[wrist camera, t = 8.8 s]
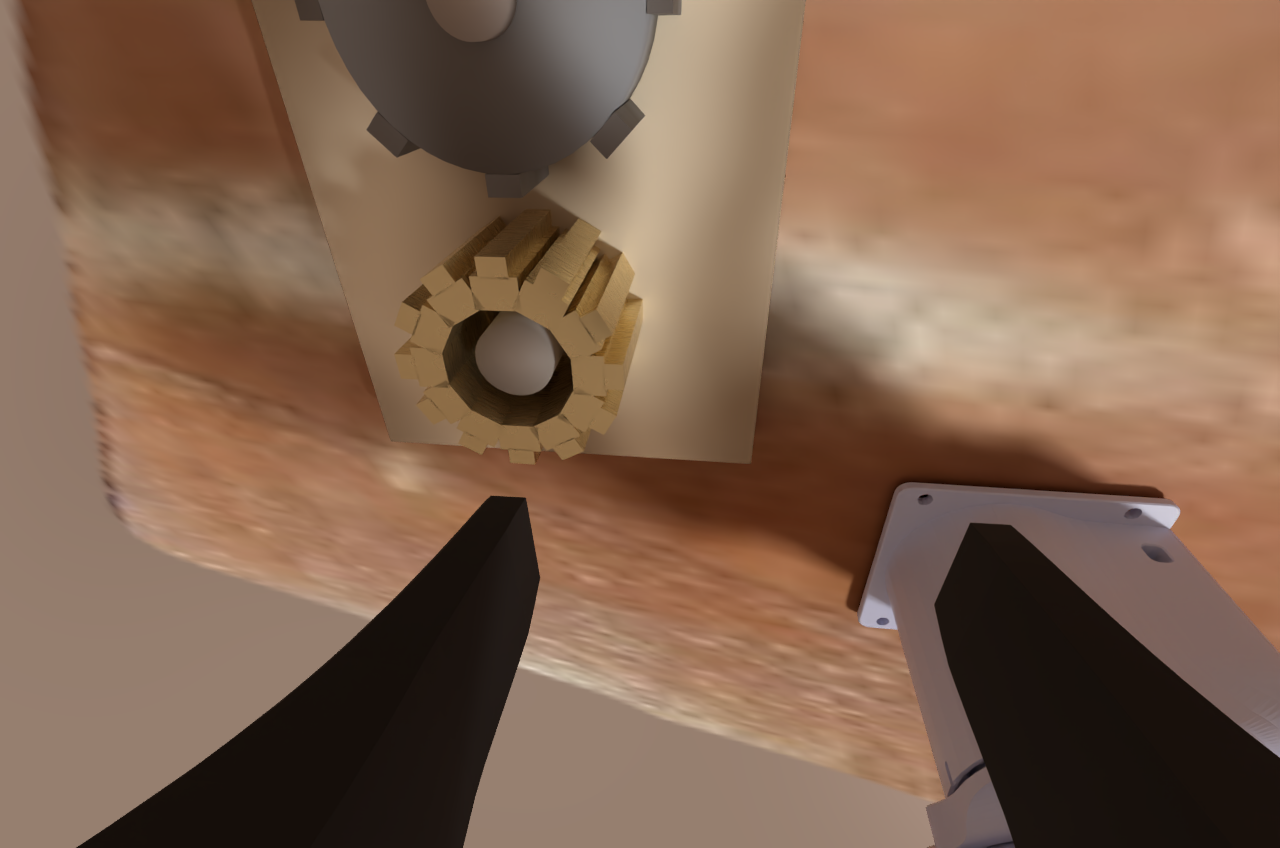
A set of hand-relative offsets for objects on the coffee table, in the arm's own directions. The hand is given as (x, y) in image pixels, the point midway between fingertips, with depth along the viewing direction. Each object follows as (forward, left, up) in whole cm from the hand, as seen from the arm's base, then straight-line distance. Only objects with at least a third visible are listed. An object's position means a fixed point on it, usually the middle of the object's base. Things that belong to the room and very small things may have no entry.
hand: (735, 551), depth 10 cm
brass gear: (+5, 0, -9) cm, 10 cm away
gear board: (+5, -3, -10) cm, 12 cm away
